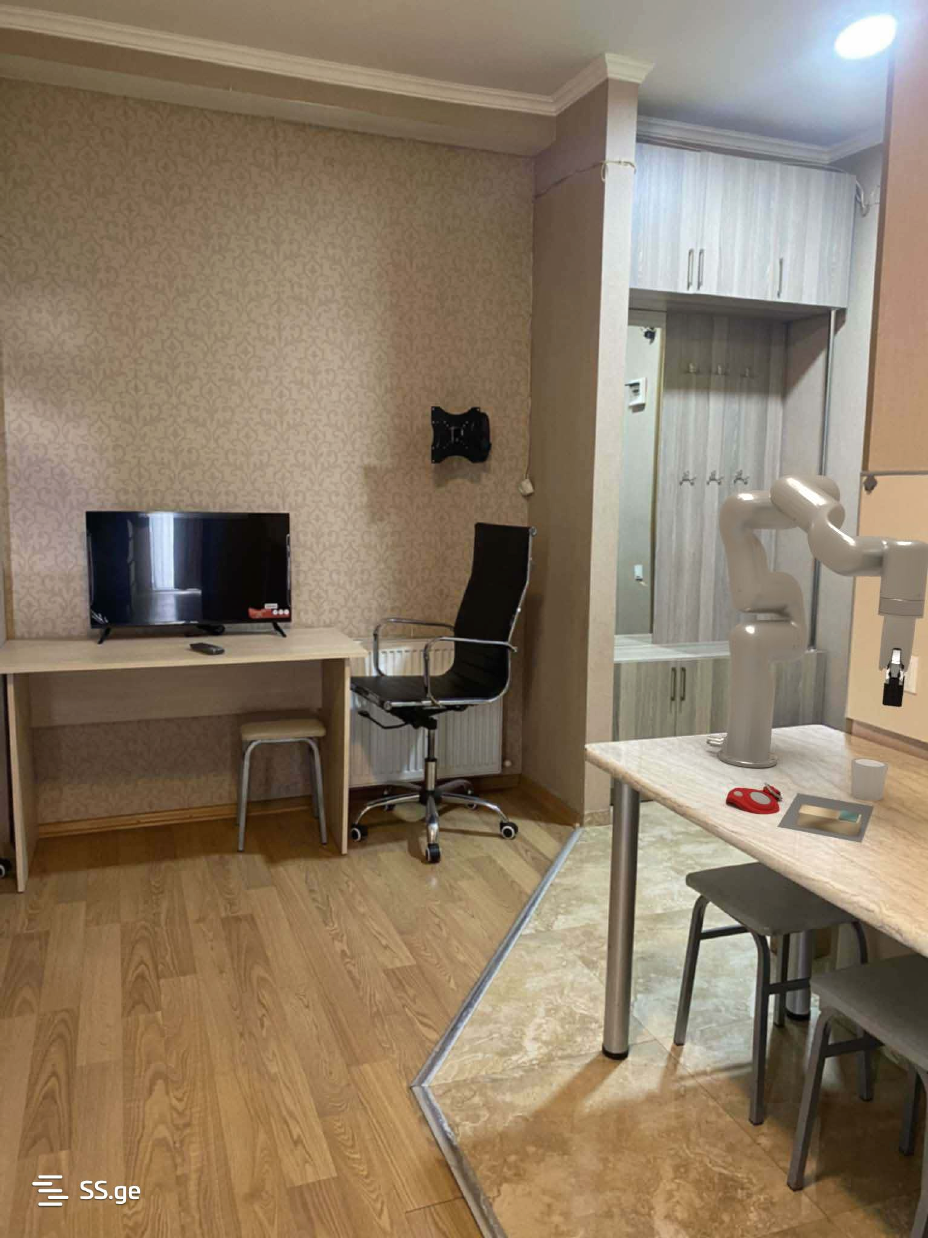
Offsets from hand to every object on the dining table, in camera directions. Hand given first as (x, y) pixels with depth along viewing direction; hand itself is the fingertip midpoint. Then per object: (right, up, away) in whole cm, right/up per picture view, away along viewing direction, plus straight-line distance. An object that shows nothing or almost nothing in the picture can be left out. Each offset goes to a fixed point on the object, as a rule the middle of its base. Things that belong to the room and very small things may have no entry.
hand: (892, 700), depth 175 cm
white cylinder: (+2, -21, +17) cm, 27 cm away
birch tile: (-13, -22, -4) cm, 26 cm away
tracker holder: (-22, -22, +7) cm, 32 cm away
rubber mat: (-11, -22, +2) cm, 25 cm away
